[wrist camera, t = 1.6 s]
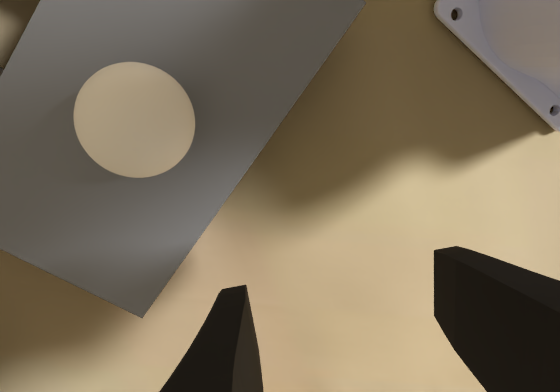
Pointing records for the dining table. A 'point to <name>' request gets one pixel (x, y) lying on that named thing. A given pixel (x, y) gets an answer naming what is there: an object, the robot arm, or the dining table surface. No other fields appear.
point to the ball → (134, 119)
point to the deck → (189, 170)
